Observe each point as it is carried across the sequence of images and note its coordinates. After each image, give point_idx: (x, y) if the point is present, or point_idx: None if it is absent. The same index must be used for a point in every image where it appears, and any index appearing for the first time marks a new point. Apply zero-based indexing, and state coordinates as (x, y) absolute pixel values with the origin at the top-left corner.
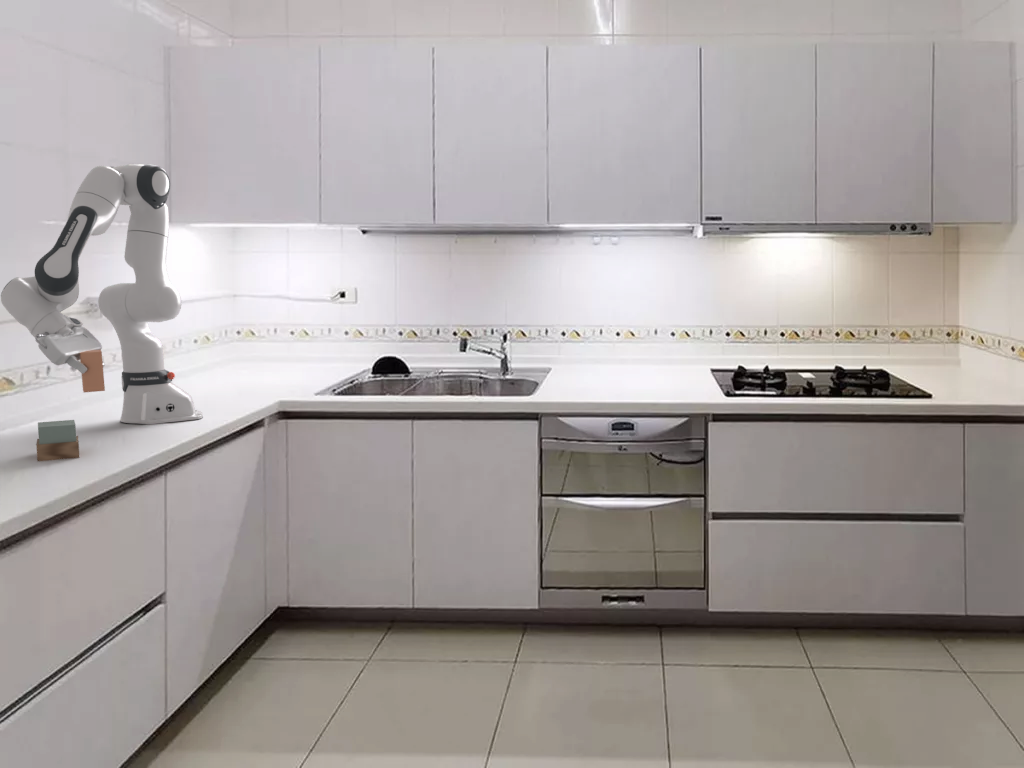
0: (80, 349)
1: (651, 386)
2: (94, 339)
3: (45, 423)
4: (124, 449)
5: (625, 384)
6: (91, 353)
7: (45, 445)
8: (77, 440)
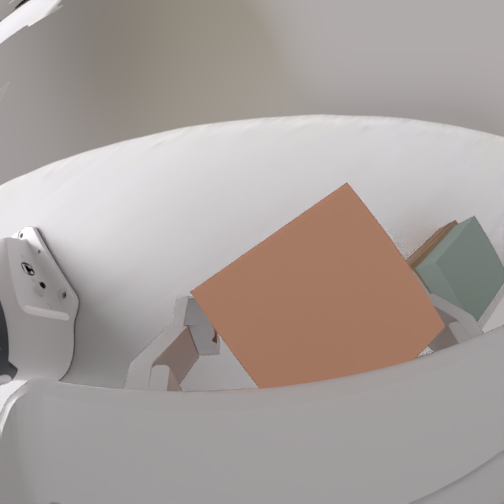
0: (393, 386)
1: (25, 9)
2: (13, 445)
3: (480, 296)
4: (359, 187)
5: (11, 22)
6: (395, 255)
7: None
8: (447, 230)
